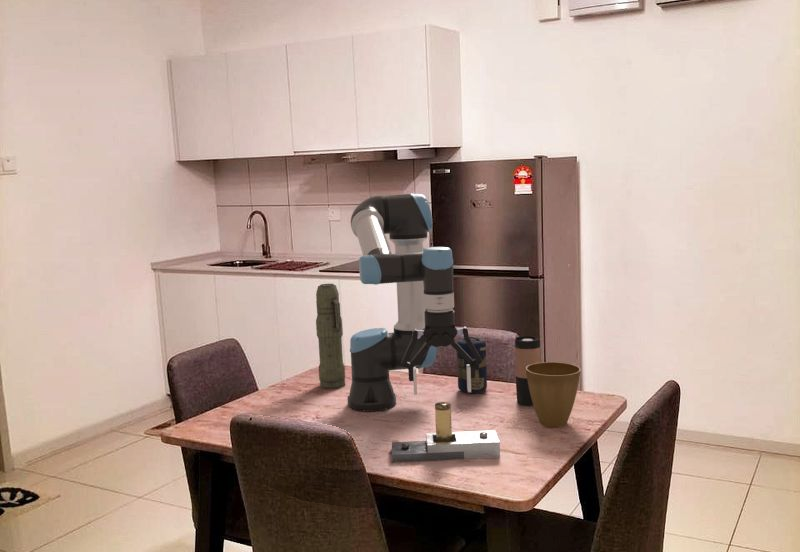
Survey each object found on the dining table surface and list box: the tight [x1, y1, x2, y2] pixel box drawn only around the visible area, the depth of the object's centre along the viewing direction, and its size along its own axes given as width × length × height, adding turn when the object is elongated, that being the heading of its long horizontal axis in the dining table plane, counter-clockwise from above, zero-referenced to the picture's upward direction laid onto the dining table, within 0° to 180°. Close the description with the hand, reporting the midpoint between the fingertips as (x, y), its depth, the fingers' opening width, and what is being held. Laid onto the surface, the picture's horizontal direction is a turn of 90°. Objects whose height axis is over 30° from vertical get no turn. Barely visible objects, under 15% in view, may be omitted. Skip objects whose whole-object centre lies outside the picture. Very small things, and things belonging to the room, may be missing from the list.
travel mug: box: [514, 335, 542, 407], centre depth 239 cm, size 8×8×20 cm
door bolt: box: [391, 429, 501, 463], centre depth 200 cm, size 9×27×5 cm, turn 91°
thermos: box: [315, 283, 346, 390], centre depth 267 cm, size 9×12×35 cm
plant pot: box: [526, 361, 582, 429], centre depth 219 cm, size 15×15×16 cm
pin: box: [434, 401, 453, 443], centre depth 200 cm, size 4×4×13 cm
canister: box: [456, 336, 488, 394], centre depth 254 cm, size 10×10×18 cm
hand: (442, 392), depth 199 cm, fingers open, 13 cm apart
